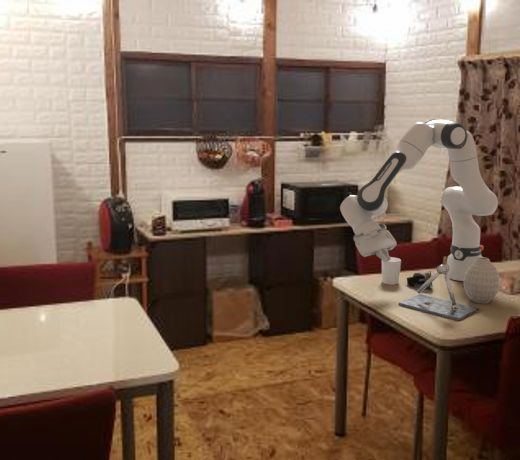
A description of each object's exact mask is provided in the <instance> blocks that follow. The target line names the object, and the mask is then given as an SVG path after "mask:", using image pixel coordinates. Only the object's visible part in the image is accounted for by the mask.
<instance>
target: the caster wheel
mask: <svg viewBox="0 0 520 460" xmlns="http://www.w3.org/2000/svg"><path fill="white" fill-rule="evenodd" d="M431 276H432V271H431V270H429V271H423V272H422V271H421V272H415V273H413V275H412V276H408V277H406V283H407V284H408V285H414V287H415V288H417V289H419V288H420V287H421V286H422V285H423V284H424V283H425V282H426V281H427V280H428V279H429V278H430V277H431ZM433 287H434V286H433V281H432V282H431V283H430V284H429V285H428V286H427V287H426V288H432V289H433Z"/></svg>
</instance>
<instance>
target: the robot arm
mask: <svg viewBox="0 0 520 460" xmlns="http://www.w3.org/2000/svg"><path fill="white" fill-rule="evenodd" d="M430 147H434V148H439V149H442V148H443V149H447V152H448V153H447V154H448V162H449V168H450V175H451V178H452V179H453V180H454V181H455V182H456V183H457V184H458V185H456V186H449V187H446V188H445V189H444V190H443V192H442V193H441V196H440V197H441V200H440V201H441V204H442V206H443V207H444V208H445V210H446V211H447V212H448V215H449V218H450V220H451V225H452V240H451V241H452V242H451V245H450V254H449V255H448V256H447V263H446V264H448V265H449V268H450V269H449V271H448V275H449V279H451V280H454V281H459V282H464V276H465V273H466V271H467V269H468V267H469V266H470V265H471V264H472V263H473V262H475V261H476V260H477V259H478V258H479V257H483V256H482V251H484V245H482V244H480V243H481V242H480V241H481V227H480V226H479V225H478V223H477V222H476V221H475V219H474V218H473V216H478V217H481V216H482V217H484V216H491V215H493V214H494V213H495V212H496V210H497V209H498V206H499V205H498V204H499V200H498V197H497V195H496V193H494V192H493V191H492V190H491V189H490V188H489V187H488V186H487V184H486V183H485V181H484V179H483V176H482V174H481V172H480V166H479V160H478V153H477V147H476V143H475V140H474V136H473V135H472V133H471V132H470V131H469V130H467V129H466V128H465V126H464V125H463V124H461V122H458V121H452V120H448V119H435V118H434V119H428V120H426V121H424V122H423V121H422V122H421V121H417V122H415V123H413V124H412V125H411V126H410V127H409V128H408V130H407V131H406V132H405V133H404V134H403V135H402V137H401V138H400V139H399V141H398V143H397V144H396V146H395V148H394V149H393V151H392V152H391V153H390V155H389V157H388V159H387V160H386V161H385V162H384V163H383V165H382V166H381V167H380V169H379V170H378V171H377V173H376V174H375V176H374V177H373V178H372V179H371V180H370V181H369V182H368V183H366V184H365V185H363V186H362V187H361V188H360V189H359V190H358V193H357V195H354V194H349V196H346V197H345V198H344V199H343V200H342V202H341V204H340V206H339V209H340V212H341V215H342V217H343V218H344V220H345V221H346V223H347V224H348V226H350V227H351V228H352V230H353V233H354V235H353V241H354V243H355V246H356V249H357V250H358V253H359V254H360V255H361V256H362V257H363V258H365V257H369V256H373V255H376V256H377V258H379V259H381V261H382V260H383V262H387V261H389V260H390V259H391V258H390V257H391V256H390V255H389V251H392V250H393V249H394V248H396V246H397V241H396V239H395V238H394V236H393V235H392V234H391V232H390V231H389V230H387V225H385V224H383V223H380V222H376V221H374V219H375V218H377V217H379V216H381V215H383V214H385V212H386V211H387V209H388V207H389V201H388V199H387V198H386V196H385V195H386V191H387V189H388V187H389V186H390V184H392V182H393V181H394V180H395V177H396V176H397V175H398V174H400V173H401V172H402V171H410V170H413V169H414V168H415V167H416V166H417V165H418V164H419V162H421V160H422V159H423V157H424V156H425V154H426V152H427V151H428V150H429V148H430Z"/></svg>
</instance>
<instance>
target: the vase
mask: <svg viewBox="0 0 520 460" xmlns="http://www.w3.org/2000/svg"><path fill="white" fill-rule="evenodd" d="M500 279H501V277H500V274H499V271H498V269H497V267H496V266H495V265H494V264H493V262H491V261H490V259H489V258H488V257H485V256H482V257H479V258H478V259H477V260H476V261H475V262H473V263H472V264H471V265H470V266H469V267H468V269H467V271H466V273H465V276H464V281H463V287H464V290H465V293H466V295H467V297H468V298H469V299H470V301H471V302H473V303H476V304H488V303H490V302H491V301H492V300H493V299H494V298H495V297H496V295H497V294H498V293H499V290H500V287H501V280H500Z"/></svg>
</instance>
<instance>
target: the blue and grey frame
mask: <svg viewBox="0 0 520 460" xmlns="http://www.w3.org/2000/svg"><path fill="white" fill-rule="evenodd" d="M447 259H448V256H443V258H442V264H441V265H445V266H446V268H447V271H446V272H445V273H443V274H442V275H443V278H444V281H445V285H446V289H447V292H448V296H449V300H446V299H442V298H437V297H433V296H430V295H426V294H422V293H420V294H419V293H418V294H416V295H414V296H412V297H411V296H410V297H409V298H406V299H404V300H402V301H399V302H398V306H400V307H404V308H408V309H413V310H415V311H420V312H423V313H427V314H431V315H435V316H438V317H443V318H445V319H446V318H447V319H450V320H455V321H457V322H459V321H461V320H463V319H466V318H468V317H469V316H471V315H474V314H476V313H478V312H479V311H480V308H479V307H475V306H472V305H471V306H470V305H466V304H462V303H459V302H456V298H455V294H454V290H453V287H452V284H451V280H450V278H449V275H448V271H449V269H450V268H449V265H448V264H447Z"/></svg>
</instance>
